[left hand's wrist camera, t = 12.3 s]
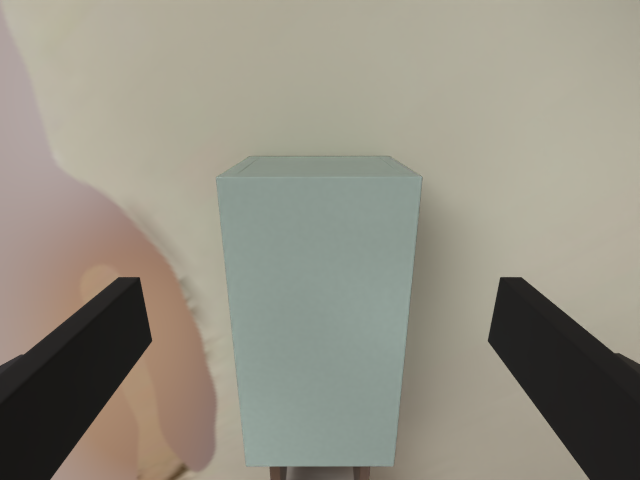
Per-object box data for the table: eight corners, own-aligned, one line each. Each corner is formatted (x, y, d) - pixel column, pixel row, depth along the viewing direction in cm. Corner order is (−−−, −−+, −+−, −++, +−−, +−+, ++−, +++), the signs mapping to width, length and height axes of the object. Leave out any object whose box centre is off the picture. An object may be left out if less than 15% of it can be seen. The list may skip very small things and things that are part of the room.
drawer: (363, 498, 38) (372, 579, 31) (276, 498, 38) (267, 579, 31) (375, 295, 29) (392, 347, 22) (263, 295, 29) (247, 347, 23)
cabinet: (375, 377, 33) (393, 466, 25) (264, 377, 33) (245, 467, 25) (390, 156, 26) (422, 176, 18) (248, 156, 26) (215, 176, 18)
